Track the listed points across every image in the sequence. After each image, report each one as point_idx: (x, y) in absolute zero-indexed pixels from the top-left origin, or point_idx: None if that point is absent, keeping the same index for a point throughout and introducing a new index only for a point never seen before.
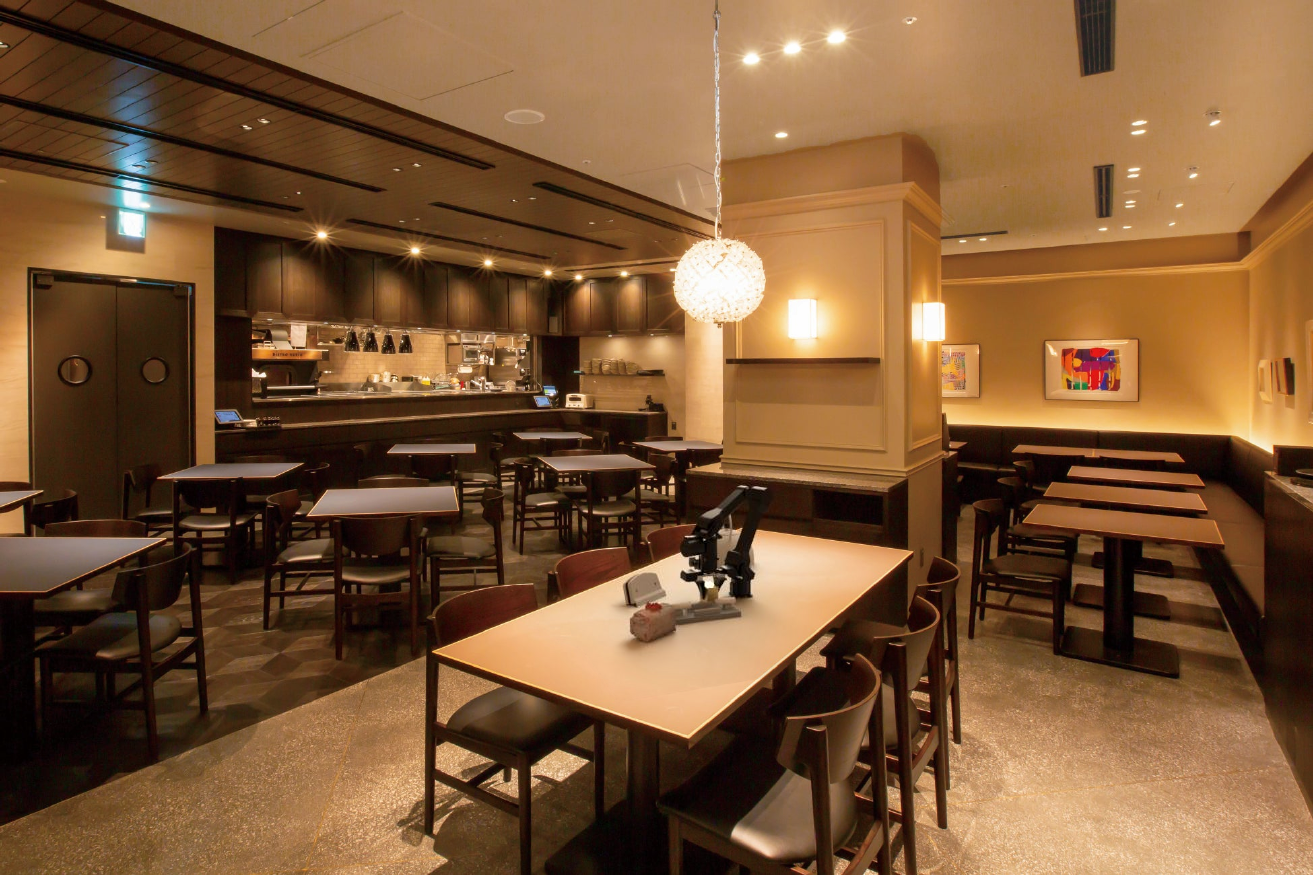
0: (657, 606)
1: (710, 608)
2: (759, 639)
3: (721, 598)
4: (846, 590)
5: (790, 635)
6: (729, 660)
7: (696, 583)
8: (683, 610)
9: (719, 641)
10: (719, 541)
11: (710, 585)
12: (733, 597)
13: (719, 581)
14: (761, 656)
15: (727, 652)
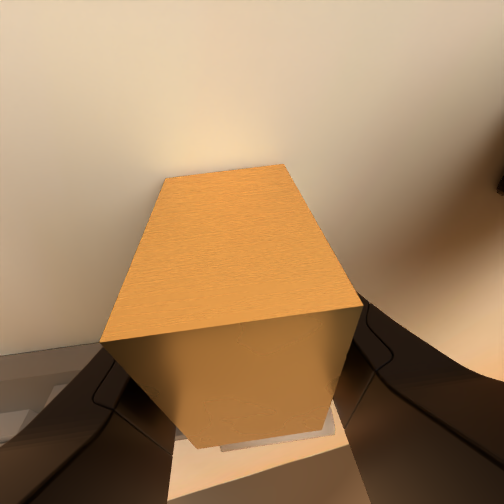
0: None
1: (181, 435)
2: (266, 448)
3: (255, 446)
4: None
5: (337, 438)
6: (179, 479)
7: (30, 441)
8: (41, 396)
9: (177, 457)
10: None
11: (260, 414)
12: (327, 434)
13: (367, 492)
14: (236, 471)
15: (183, 471)
